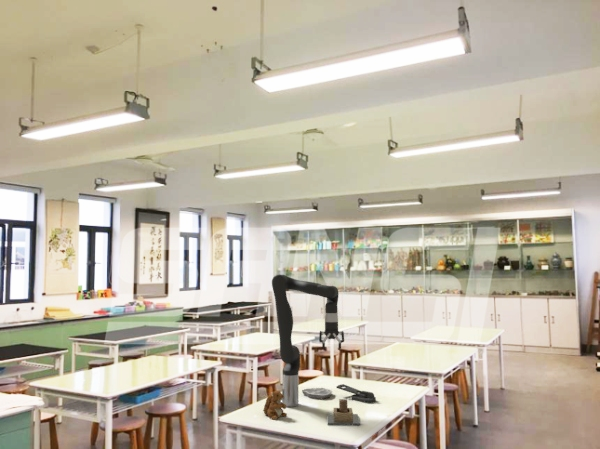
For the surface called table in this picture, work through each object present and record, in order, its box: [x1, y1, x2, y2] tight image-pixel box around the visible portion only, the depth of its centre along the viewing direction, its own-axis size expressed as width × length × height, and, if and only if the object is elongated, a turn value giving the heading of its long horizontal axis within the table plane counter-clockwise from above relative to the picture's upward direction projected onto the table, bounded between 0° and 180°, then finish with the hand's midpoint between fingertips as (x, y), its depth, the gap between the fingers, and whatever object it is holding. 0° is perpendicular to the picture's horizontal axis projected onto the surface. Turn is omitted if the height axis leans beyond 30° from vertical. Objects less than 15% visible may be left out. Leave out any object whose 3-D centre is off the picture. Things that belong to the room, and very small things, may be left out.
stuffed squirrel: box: [262, 390, 288, 420], centre depth 254 cm, size 10×14×13 cm
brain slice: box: [301, 387, 333, 400], centre depth 296 cm, size 20×17×3 cm
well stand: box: [326, 407, 361, 426], centre depth 245 cm, size 16×16×5 cm
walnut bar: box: [338, 398, 348, 412], centre depth 245 cm, size 4×4×9 cm
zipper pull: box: [335, 383, 377, 404], centre depth 288 cm, size 9×7×25 cm
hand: (331, 349), depth 271 cm, fingers open, 8 cm apart
